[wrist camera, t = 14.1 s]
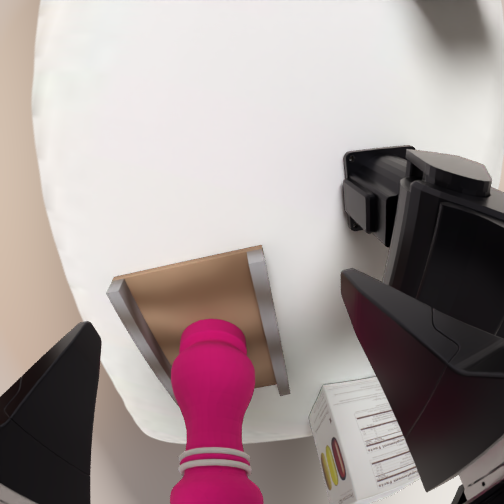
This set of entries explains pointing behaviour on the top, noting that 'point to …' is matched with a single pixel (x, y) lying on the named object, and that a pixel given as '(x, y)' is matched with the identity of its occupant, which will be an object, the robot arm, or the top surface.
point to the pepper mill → (214, 414)
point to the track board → (202, 310)
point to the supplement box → (360, 443)
